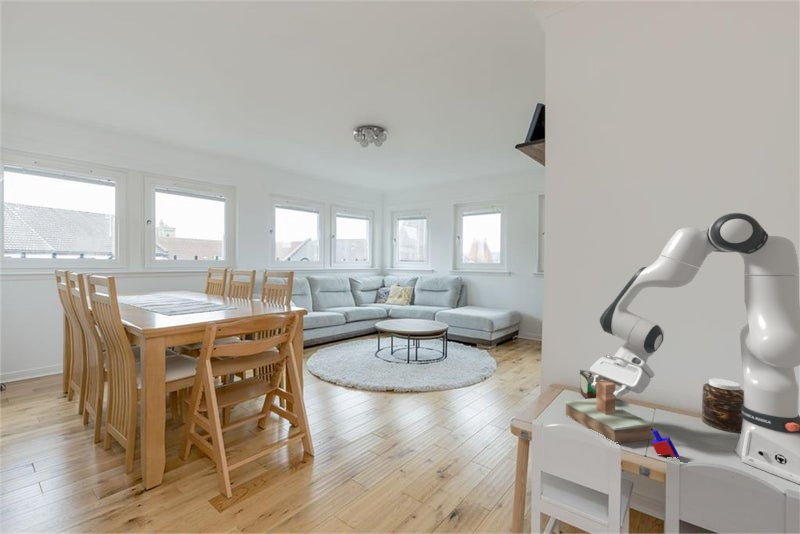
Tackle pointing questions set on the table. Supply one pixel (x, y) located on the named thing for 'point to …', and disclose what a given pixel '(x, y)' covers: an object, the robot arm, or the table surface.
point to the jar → (722, 405)
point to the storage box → (609, 421)
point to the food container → (587, 385)
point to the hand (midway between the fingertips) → (604, 391)
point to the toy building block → (663, 445)
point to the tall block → (605, 397)
